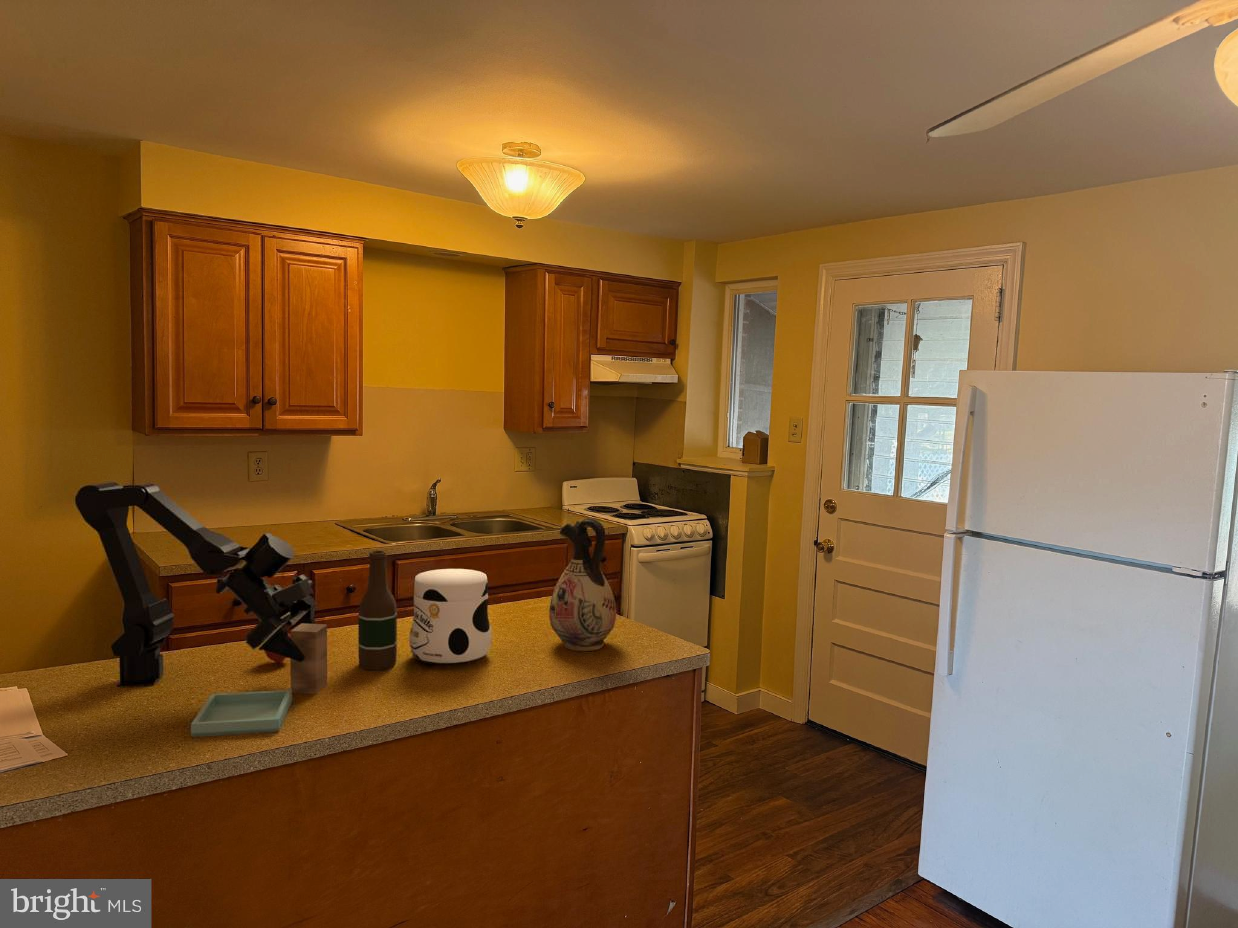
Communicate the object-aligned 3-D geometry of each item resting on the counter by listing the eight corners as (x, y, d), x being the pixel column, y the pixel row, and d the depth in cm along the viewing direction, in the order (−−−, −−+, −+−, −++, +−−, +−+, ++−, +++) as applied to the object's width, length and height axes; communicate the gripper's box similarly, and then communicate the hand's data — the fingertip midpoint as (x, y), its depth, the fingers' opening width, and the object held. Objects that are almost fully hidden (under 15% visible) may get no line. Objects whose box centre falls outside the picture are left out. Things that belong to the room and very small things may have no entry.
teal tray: (191, 737, 137) (190, 724, 137) (211, 705, 150) (211, 693, 150) (279, 731, 140) (279, 718, 140) (291, 701, 153) (291, 689, 153)
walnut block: (290, 692, 157) (290, 630, 156) (302, 683, 162) (301, 623, 161) (316, 694, 157) (316, 632, 156) (327, 684, 162) (326, 624, 161)
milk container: (392, 664, 175) (392, 580, 173) (439, 641, 191) (440, 564, 189) (463, 677, 168) (464, 589, 166) (506, 652, 184) (507, 572, 182)
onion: (283, 668, 170) (282, 630, 169) (257, 666, 171) (257, 628, 170) (299, 659, 176) (299, 622, 175) (275, 657, 177) (274, 620, 176)
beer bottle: (404, 661, 176) (404, 550, 174) (382, 673, 169) (382, 556, 167) (373, 656, 179) (373, 546, 177) (350, 668, 172) (350, 553, 169)
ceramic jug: (533, 645, 190) (536, 515, 187) (580, 631, 201) (583, 509, 198) (588, 663, 179) (592, 525, 176) (634, 647, 190) (638, 517, 188)
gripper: (261, 576, 148) (322, 639, 149) (306, 555, 167) (360, 611, 167) (219, 617, 149) (280, 680, 150) (268, 592, 168) (322, 647, 168)
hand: (313, 652), depth 159 cm, fingers open, 9 cm apart
